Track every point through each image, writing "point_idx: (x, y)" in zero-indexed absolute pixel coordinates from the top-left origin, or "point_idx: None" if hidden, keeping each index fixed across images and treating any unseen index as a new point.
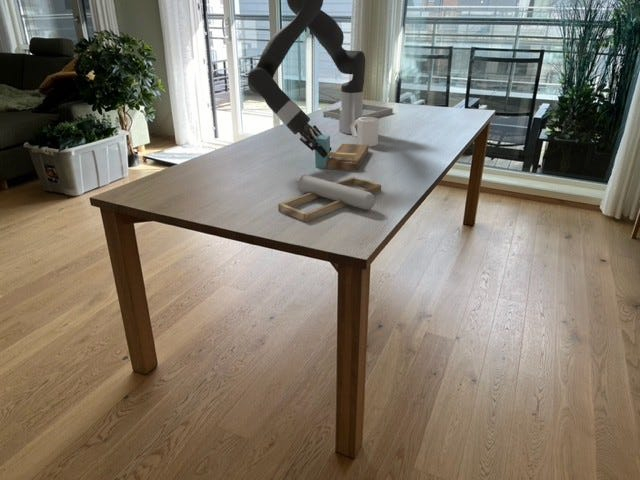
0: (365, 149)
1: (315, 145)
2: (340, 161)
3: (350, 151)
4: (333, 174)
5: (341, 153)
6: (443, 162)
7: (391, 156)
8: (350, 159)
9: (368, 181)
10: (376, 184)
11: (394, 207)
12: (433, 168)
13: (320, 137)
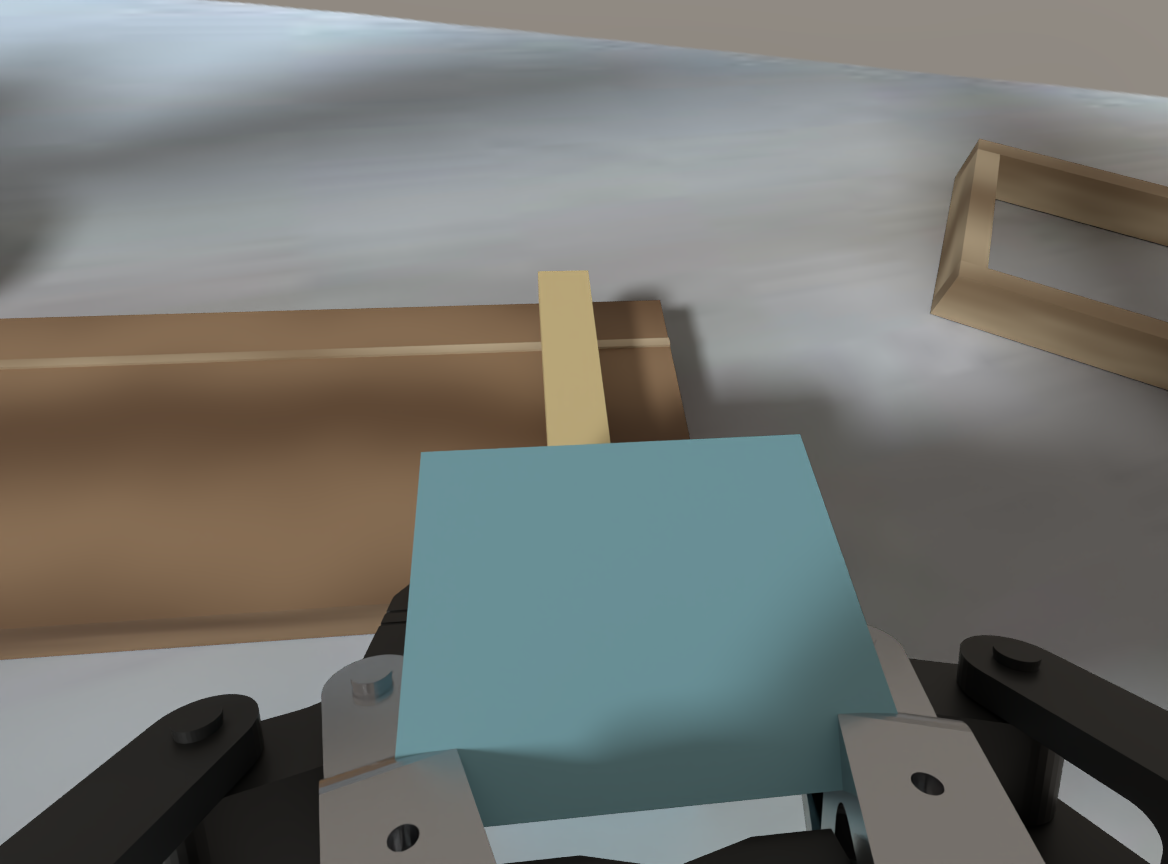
0: (118, 316)
1: (1058, 671)
2: (645, 440)
3: (194, 435)
4: (836, 496)
5: (581, 399)
6: (338, 25)
7: (192, 207)
8: (539, 368)
9: (979, 191)
10: (995, 155)
11: (1105, 120)
12: (458, 48)
13: (699, 638)
